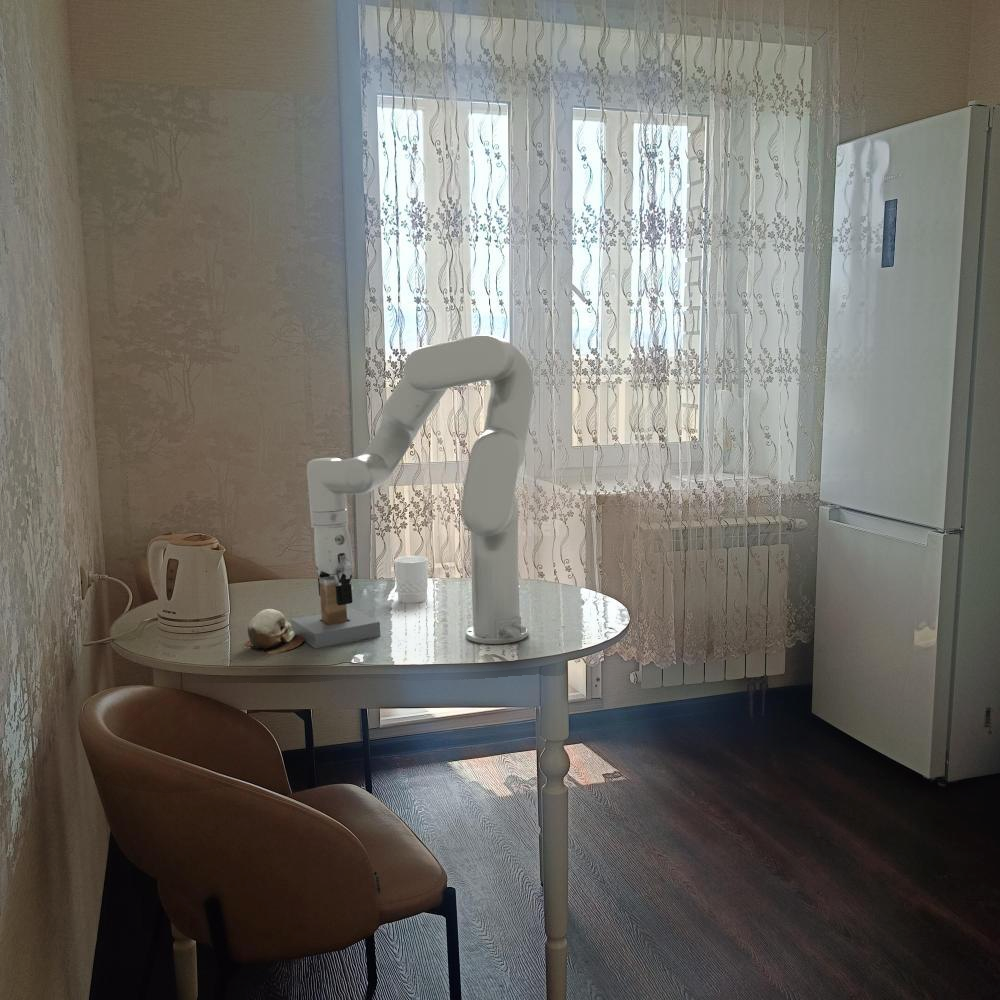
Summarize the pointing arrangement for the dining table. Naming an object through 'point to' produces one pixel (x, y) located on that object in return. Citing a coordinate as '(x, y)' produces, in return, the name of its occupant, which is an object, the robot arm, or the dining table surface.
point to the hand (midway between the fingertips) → (335, 599)
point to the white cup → (411, 578)
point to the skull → (271, 633)
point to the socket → (335, 629)
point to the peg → (331, 602)
